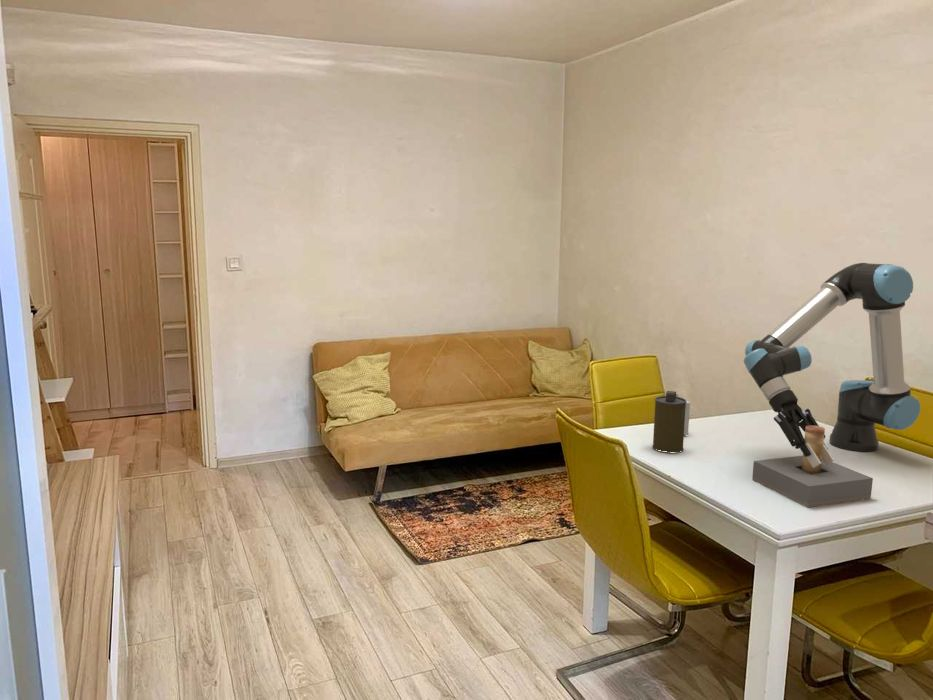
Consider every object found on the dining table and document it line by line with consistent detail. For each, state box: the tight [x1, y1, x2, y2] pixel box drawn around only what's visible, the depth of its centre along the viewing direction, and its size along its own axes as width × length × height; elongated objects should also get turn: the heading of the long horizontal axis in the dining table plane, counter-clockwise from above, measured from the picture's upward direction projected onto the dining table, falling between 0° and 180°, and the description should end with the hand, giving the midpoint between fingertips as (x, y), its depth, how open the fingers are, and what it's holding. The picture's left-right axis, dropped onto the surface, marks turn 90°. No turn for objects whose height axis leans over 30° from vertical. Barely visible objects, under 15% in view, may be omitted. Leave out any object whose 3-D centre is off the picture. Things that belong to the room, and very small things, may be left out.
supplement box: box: [684, 398, 691, 436], centre depth 260 cm, size 7×7×13 cm
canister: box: [651, 390, 688, 453], centre depth 241 cm, size 11×10×20 cm
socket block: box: [751, 455, 874, 508], centre depth 206 cm, size 22×22×6 cm
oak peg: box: [802, 425, 826, 474], centre depth 204 cm, size 5×5×16 cm
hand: (823, 463), depth 201 cm, fingers closed on oak peg, 5 cm apart
